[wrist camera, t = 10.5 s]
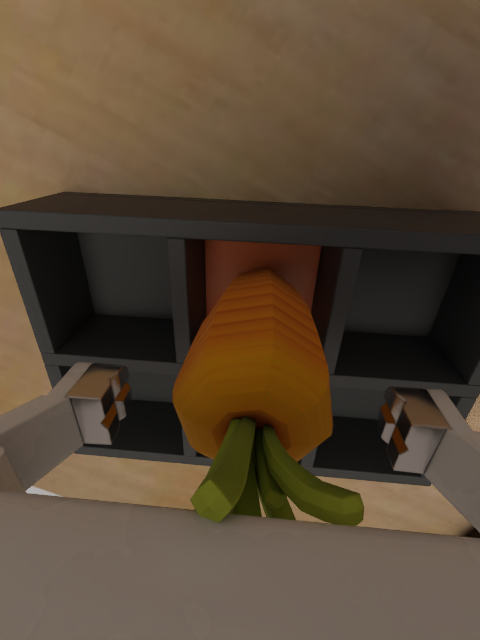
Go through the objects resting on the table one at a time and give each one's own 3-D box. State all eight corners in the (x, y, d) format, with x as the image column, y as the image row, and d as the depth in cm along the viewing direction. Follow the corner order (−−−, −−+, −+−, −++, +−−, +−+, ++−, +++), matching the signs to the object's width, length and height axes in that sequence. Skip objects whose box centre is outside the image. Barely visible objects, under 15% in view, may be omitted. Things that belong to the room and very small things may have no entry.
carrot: (226, 225, 17) (87, 504, 4) (316, 245, 17) (460, 576, 4) (212, 306, 20) (99, 637, 7) (291, 322, 20) (333, 681, 7)
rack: (63, 191, 18) (-9, 209, 13) (482, 211, 17) (563, 239, 12) (109, 397, 25) (74, 454, 21) (399, 421, 24) (430, 487, 20)
